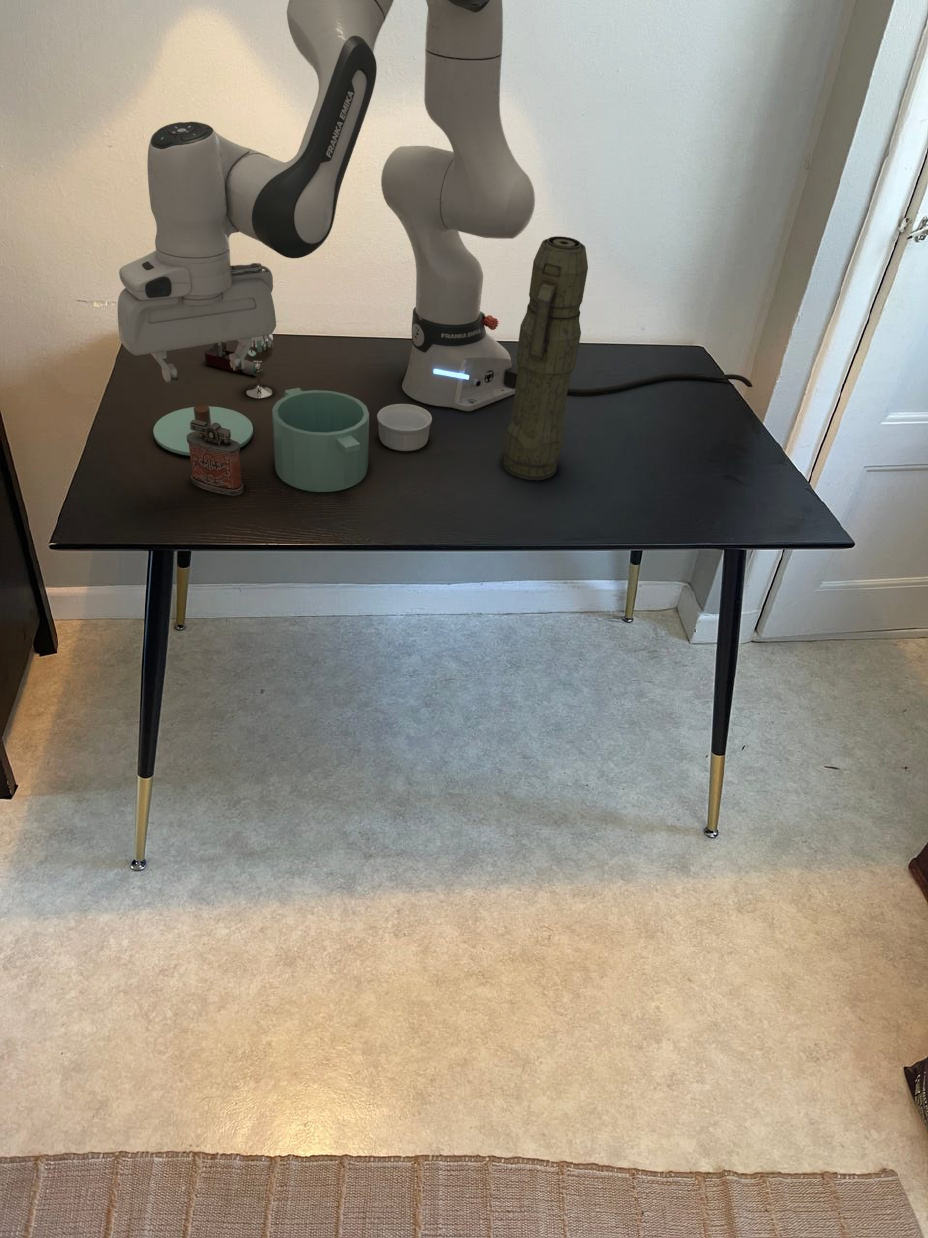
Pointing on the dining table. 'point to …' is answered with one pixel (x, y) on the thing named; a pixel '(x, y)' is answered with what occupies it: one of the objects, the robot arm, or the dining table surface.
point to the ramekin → (404, 426)
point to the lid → (177, 423)
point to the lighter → (214, 458)
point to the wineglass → (258, 354)
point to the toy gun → (226, 359)
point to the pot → (320, 440)
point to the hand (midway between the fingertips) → (204, 373)
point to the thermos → (546, 358)
